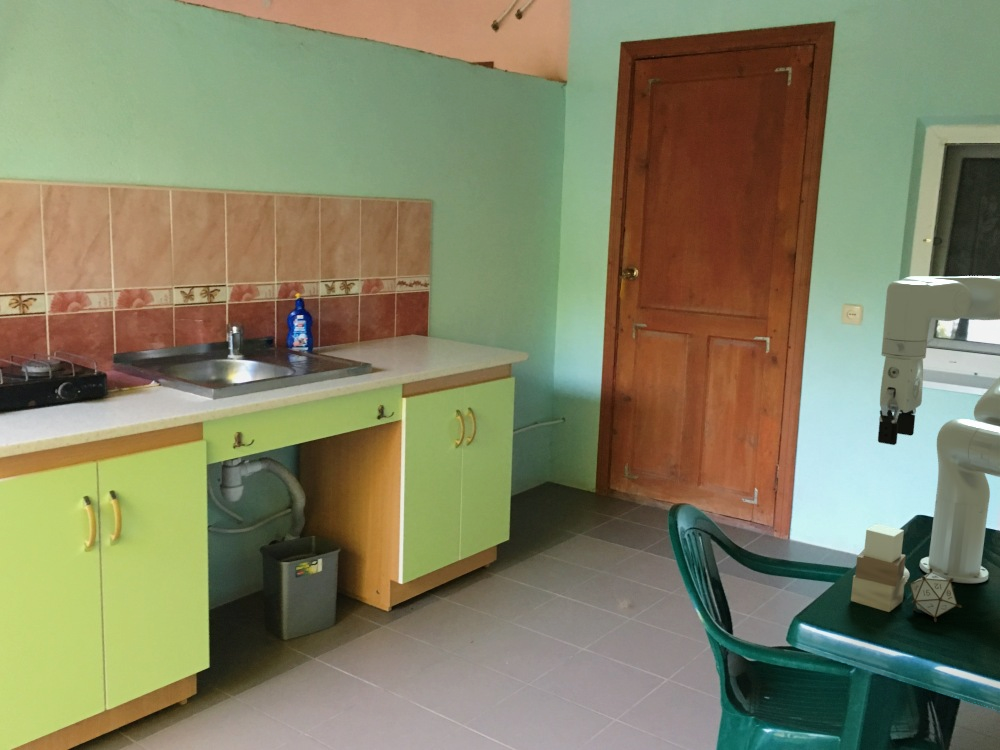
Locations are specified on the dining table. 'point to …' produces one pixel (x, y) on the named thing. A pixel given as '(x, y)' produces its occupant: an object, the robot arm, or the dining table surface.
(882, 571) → the walnut block
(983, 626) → the dining table surface
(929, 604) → the game die
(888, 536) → the ivory cube
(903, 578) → the oak block
